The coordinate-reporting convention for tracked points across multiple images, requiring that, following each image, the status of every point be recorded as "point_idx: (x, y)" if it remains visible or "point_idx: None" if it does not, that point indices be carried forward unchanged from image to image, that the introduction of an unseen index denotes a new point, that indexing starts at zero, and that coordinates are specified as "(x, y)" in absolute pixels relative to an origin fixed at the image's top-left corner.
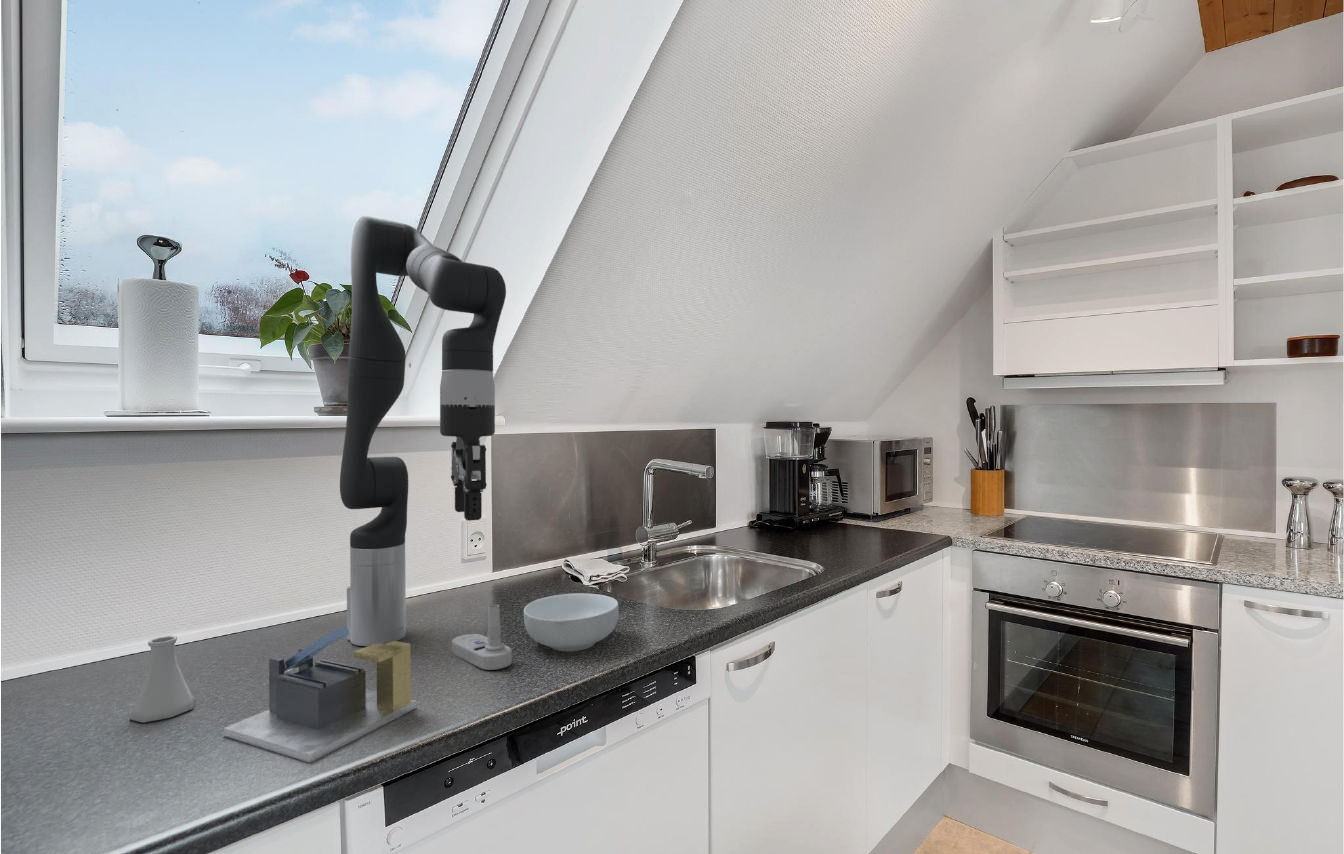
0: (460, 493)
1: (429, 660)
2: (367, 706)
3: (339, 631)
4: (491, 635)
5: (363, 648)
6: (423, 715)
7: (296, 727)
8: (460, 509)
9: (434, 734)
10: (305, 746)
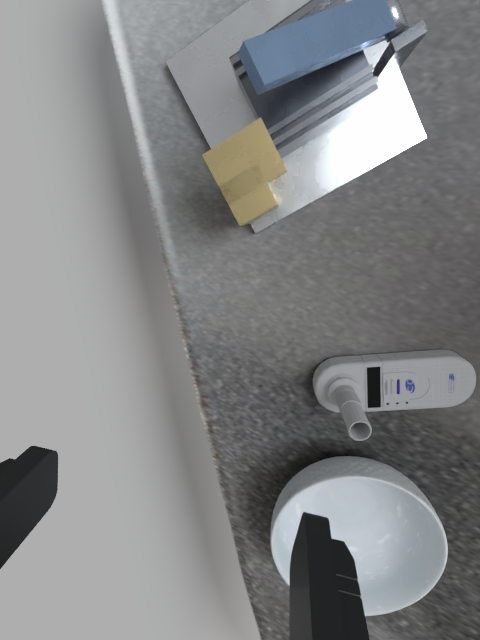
0: (301, 620)
1: (439, 307)
2: None
3: (252, 67)
4: (341, 395)
5: (267, 138)
6: (225, 234)
7: None
8: (301, 533)
9: (161, 229)
10: (193, 58)
